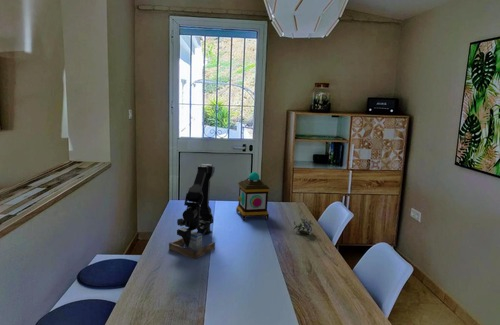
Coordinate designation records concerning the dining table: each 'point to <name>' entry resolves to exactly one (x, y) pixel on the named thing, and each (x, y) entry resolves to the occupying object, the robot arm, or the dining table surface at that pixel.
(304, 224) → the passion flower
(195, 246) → the medicine box
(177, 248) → the frame
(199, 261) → the dining table surface
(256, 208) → the decorative lantern
